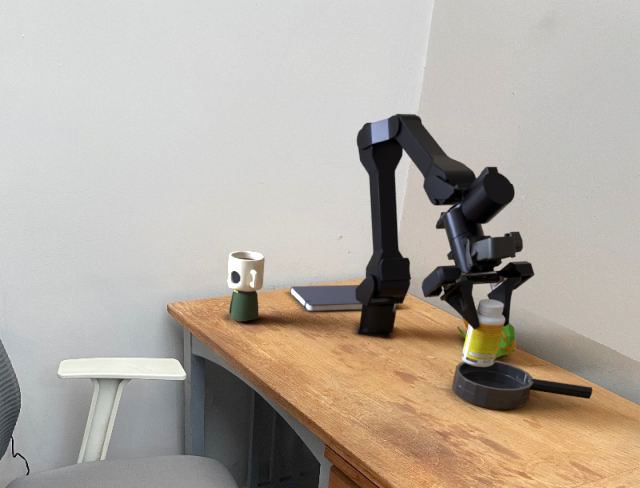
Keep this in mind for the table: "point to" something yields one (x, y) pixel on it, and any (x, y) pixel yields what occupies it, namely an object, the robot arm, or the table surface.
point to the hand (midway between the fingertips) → (491, 326)
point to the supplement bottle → (484, 334)
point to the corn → (501, 340)
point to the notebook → (327, 297)
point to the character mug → (245, 284)
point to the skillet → (492, 385)
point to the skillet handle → (562, 388)
